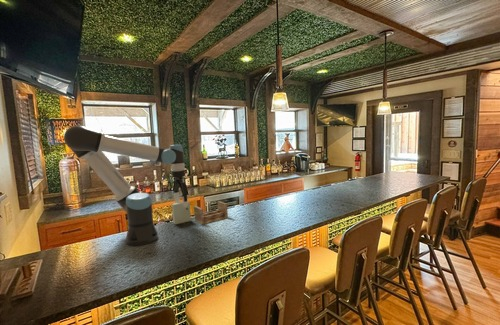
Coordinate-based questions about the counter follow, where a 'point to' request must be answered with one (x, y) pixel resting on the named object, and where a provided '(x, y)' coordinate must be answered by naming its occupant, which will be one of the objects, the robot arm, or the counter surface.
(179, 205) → the door panel
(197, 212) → the track
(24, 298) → the counter surface
